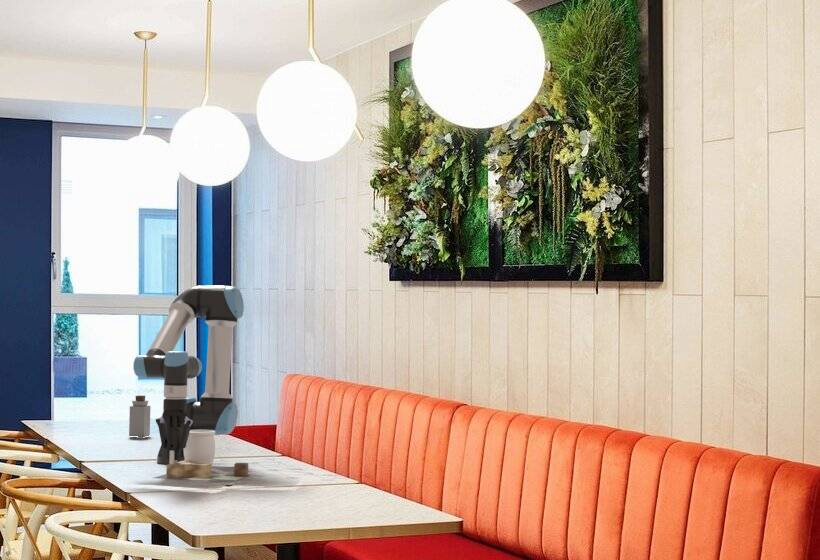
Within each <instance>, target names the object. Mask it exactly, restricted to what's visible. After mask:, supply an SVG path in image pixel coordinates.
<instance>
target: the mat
mask: <svg viewBox="0 0 820 560" xmlns="http://www.w3.org/2000/svg"><path fill="white" fill-rule="evenodd" d="M252 476H253V475H252V474H248V476H247V477H234V473H223V472H221V473H219V472H211V476H210V477H206V478H203V477H186V476H183V477H179V478H169V477H166V474H162V475H158V476H154V477H153V479H161V480H176V481H177V480H178V481H179V480H180V481H194V482H208V483H209V482H210V483H223V484H224V483H227V484H226V485H224V487H230V488H231V487H232V486H234V485H233V484H230V483H233V482H236V481H239V480H242V479H246V478H249V477H252Z"/></svg>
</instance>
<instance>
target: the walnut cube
mask: <svg viewBox="0 0 820 560" xmlns="http://www.w3.org/2000/svg"><path fill="white" fill-rule="evenodd" d="M233 465H234V466H233V469H234V470H233V474H234V477H246V478H248V477H247V476H248V475H249V462H235V463H234V464H233Z"/></svg>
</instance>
